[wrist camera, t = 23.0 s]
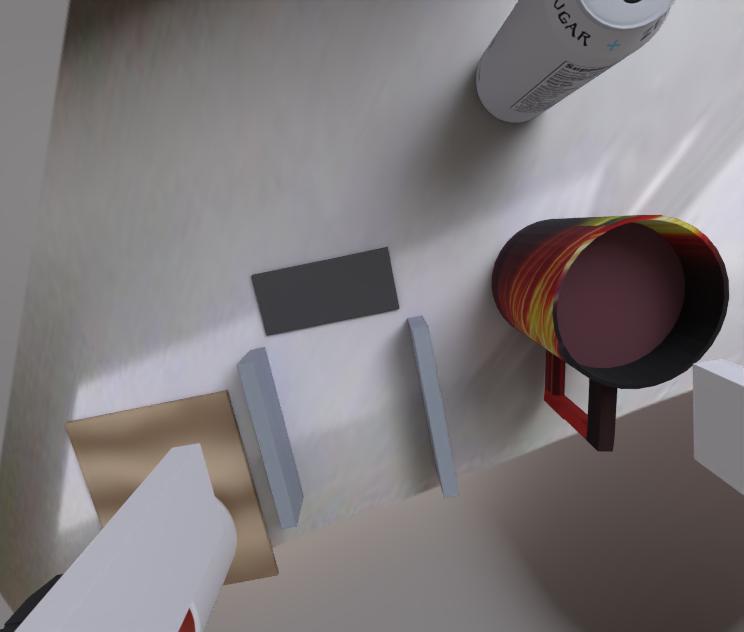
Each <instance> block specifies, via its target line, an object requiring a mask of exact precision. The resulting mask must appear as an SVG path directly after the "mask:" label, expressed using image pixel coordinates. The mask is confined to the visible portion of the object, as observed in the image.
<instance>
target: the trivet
mask: <svg viewBox="0 0 744 632" xmlns="http://www.w3.org/2000/svg"><path fill="white" fill-rule="evenodd" d="M65 426H66V429H67V432H68V434H69V437H70V440H71V443H72V445H73V448H74V451H75V454H76V456H77V459H78V462H79V465H80V467H81V470H82V473H83V476H84V478H85V481H86V484H87V487H88V489H89V492H90V495H91V498H92V500H93V503H94V506H95V508H96V511H97V514H98V517H99V519H100V522H101V525H102V528H104V527H105V525H106V524H107V523H108V522H109V521H110V520H111V518H112V517H113V516H114V515H115V514H116V513H117V511H118V510H119V509H120V508H121V507H122V506H123V504H124V503H125V502H126V501H127V500H128V499H129V497H130V496H131V495H132V494H133V493H134V492H135V490H136V489H137V488H138V487H139V486H140V485H141V483H142V482H143V481H144V480H145V479H146V478H147V476H148V475H149V474H150V473H151V472H152V471H153V469H154V468H155V467H156V466H157V465H158V464H159V462H160V461H161V460H162V459H163V458H164V457H165V455H166V454H167V453H168V452H169V451H170V450H171V448H173V447H179V446H185V445H191V444H197V443H200V445H201V449H202V452H203V456H204V459H205V463H206V467H207V470H208V474H209V477H210V481H211V485H212V488H213V492H214V495H215V497H216V498H218V499H219V500H220V501H221V502H222V503H223V504H224V505H225V507H226V508H227V509H228V511H229V512H230V514H231V516H232V518H233V521H234V523H235V527H236V532H237V547H236V552H235V556H234V558H233V561H232V563H231V566H230V568H229V571H228V573H227V576H226V578H225V581H224V583H223V585H227V584H233V583H238V582H244V581H249V580H254V579H260V578H265V577H271V576H276V575H278V572H279V571H278V568H277V564H276V561H275V557H274V554H273V550H272V546H271V543H270V539H269V536H268V532H267V529H266V525H265V522H264V518H263V515H262V511H261V507H260V504H259V500H258V497H257V493H256V490H255V486H254V483H253V479H252V476H251V472H250V468H249V465H248V461H247V458H246V454H245V451H244V447H243V444H242V440H241V437H240V433H239V429H238V426H237V422H236V419H235V415H234V412H233V408H232V405H231V401H230V398H229V394H228V391H227V390H226V391H221V392H216V393H211V394H206V395H201V396H196V397H191V398H186V399H181V400H176V401H171V402H166V403H161V404H156V405H151V406H146V407H141V408H136V409H131V410H125V411H120V412H115V413H110V414H105V415H100V416H95V417H90V418H85V419H80V420H75V421H70V422H67V423H65Z"/></svg>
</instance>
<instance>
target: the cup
mask: <svg viewBox="0 0 744 632" xmlns="http://www.w3.org/2000/svg"><path fill="white" fill-rule="evenodd" d="M215 499H216V503H217V506H218V510H219V513H220V517H221V520H222V524H223V528H224V534H223V536H222V538H221V540H220V542H219V544H218V547H217V549H216V551H215V553H214V555H213V557H212V560H211V562H210V564H209V566H208V568H207V570H206V573H205V575H204V577H203V579H202V581H201V583H200V586H199V588H198V590H197V592H196V594H195V596H194V599H193V601H192V603H191V605H190V607H189V610H188V612H187V614H186V616H185V618H184V620H183V623H182V625H181V627H180V629H179V631H178V632H204V630H205V628H206V625H207V623H208V620H209V617H210V615H211V613H212V610H213V608H214V605H215V603H216V601H217V598H218V596H219V593H220V591H221V588H222V586H223V583H224V581H225V578H226V576H227V573H228V571H229V568H230V566H231V563H232V561H233V558H234V556H235V552H236V547H237V532H236V527H235V523H234V521H233V518H232V516H231V514H230V512H229V511H228V509H227V508H226V507H225V505H224V504H223V503H222V502H221V501H220V500H219V499H218V498H216V497H215Z"/></svg>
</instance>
